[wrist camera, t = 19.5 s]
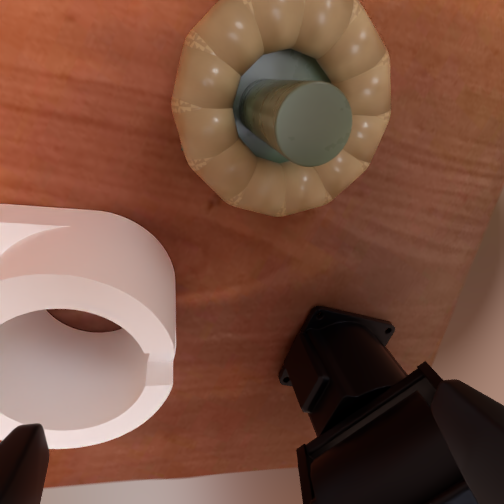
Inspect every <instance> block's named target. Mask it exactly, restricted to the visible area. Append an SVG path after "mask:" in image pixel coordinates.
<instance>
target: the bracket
mask: <svg viewBox="0 0 504 504" xmlns="http://www.w3.org/2000/svg"><path fill="white" fill-rule="evenodd" d="M46 309H72V310H79V311H85V312H89V313H93V314H96V315H99V316H101V317H104V318H106V319H108V320H110V321H113V322H114V323H116V324H118V325H119V326H121V327H122V329H119V330H116V331H111V332H87V331H81V330H77V329H75V328H72V327H69V326H67V325H65V324H63V323H61V322H60V321H58V320H57V319H55V318H54V317H53V316H52V315H51V314H50V313H49V312H48V311H47V310H46ZM175 350H176V283H175V272H174V268H173V265H172V262H171V260H170V257H169V256H168V254H167V252H166V250H165V249H164V247H163V246H162V245H161V243H160V242H159V241H158V240H157V239H156V238H155V237H154V236H153V235H152V234H151V233H150V232H148V231H147V230H146V229H145V228H143V227H142V226H140V225H139V224H137V223H135V222H133V221H131V220H129V219H127V218H125V217H122V216H120V215H116V214H113V213H109V212H105V211H97V210H83V209H69V208H55V207H41V206H27V205H13V204H0V440H3V439H4V438H5V437H6V436H7V435H8V434H9V433H10V432H11V431H12V430H13V429H15V428H16V427H17V426H19V425H25V424H34V423H40V424H41V425H42V426H43V429H44V433H45V437H46V441H47V444H48V448H49V449H66V448H79V447H85V446H91V445H95V444H99V443H103V442H106V441H109V440H112V439H115V438H117V437H120V436H122V435H124V434H126V433H128V432H130V431H132V430H133V429H135V428H137V427H138V426H140V425H141V424H143V423H144V422H145V421H147V420H148V419H149V418H150V417H151V416H153V414H154V413H155V412H156V411H157V410H158V409H159V408H160V407H161V406H162V404H163V403H164V402H165V400H166V398H167V397H168V395H169V393H170V391H171V389H172V386H173V360H174V356H175Z"/></svg>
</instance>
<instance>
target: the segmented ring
mask: <svg viewBox="0 0 504 504" xmlns="http://www.w3.org/2000/svg"><path fill="white" fill-rule="evenodd" d="M286 49H293V50H295V51H298V52H300V53H302V54H305V55H307V56H310V57H312V58H315V59H316V61H317V62H318V64H319V65H320V67H321V68H322V70H323V71H324V72H325V74H326V75H327V77H328V78H329V80H330V81H331V84H332V85H334V86H336V87H337V88H338V89H340V90H341V91H342V92H343V93H344V95H345V96H346V98H347V100H348V102H349V104H350V107H351V111H352V129H351V133H350V136H349V139H348V141H347V143H346V145H345V146H344V148H343V149H342V151H341V152H340V153H339V154H338V155H337V156H336V157H335V158H333V159H332V160H331V161H329V162H327V163H325V164H323V165H320V166H315V167H303V166H299V165H296V164H294V163H292V162H291V161H286V162H282V163H276V162H273V161H270V160H266V159H263V158H260V157H257V156H255V155H254V154H253V152H252V151H251V150H250V149H249V148H248V147H247V146H246V145H245V143H244V142H243V141H242V140H241V139H240V138H239V137H238V132H237V127H236V123H235V118H234V113H233V108H232V107H233V103H234V100H235V96H236V93H237V89H238V86H239V82H240V79H241V76H242V75H243V74H244V73H245V72H246V71H247V70H248V69H249V68H250V67H251V66H252V65H253V64H254V63H255V62H256V61H257V60H258V59H259V58H260V57H261V56H262V55H264V54H269V53H273V52H277V51H282V50H286ZM171 108H172V113H173V116H174V120H175V123H176V127H177V130H178V134H179V137H180V141H181V144H182V147H183V151H184V154H185V158H186V161H187V163H188V164H189V166H190V167H191V169H192V170H193V171H194V172H195V173H196V174H197V175H198V176H199V177H200V178H201V179H202V180H203V181H204V182H205V183H206V184H207V185H208V186H209V187H210V188H211V189H212V190H213V191H214V192H215V193H216V194H217V195H218V196H219V197H220V198H221V199H222V200H223V201H225V202H226V203H227V204H229V205H231V206H234V207H238V208H242V209H246V210H250V211H254V212H258V213H262V214H265V215H269V216H274V217H282V216H286V215H290V214H294V213H298V212H301V211H305V210H309V209H312V208H316V207H320V206H323V205H326V204H328V203H329V202H331V201H332V200H333V199H334V198H335V197H337V196H338V195H339V194H340V193H341V192H342V191H343V190H345V189H346V188H347V187H348V186H349V185H350V184H351V183H352V182H354V181H355V180H356V179H357V178H358V177H359V176H360V175H361V174H363V173H364V172H365V170H366V169H367V168H368V166H369V165H370V163H371V161H372V158H373V156H374V154H375V152H376V149H377V147H378V145H379V142H380V140H381V138H382V136H383V133H384V131H385V129H386V127H387V124H388V122H389V119H390V115H391V81H390V58H389V53H388V51H387V48H386V46H385V45H384V43H383V41H382V39H381V38H380V36H379V34H378V32H377V31H376V29H375V27H374V25H373V24H372V22H371V20H370V18H369V16H368V15H367V13H366V11H365V9H364V8H363V6H362V5H361V3H360V2H359V1H358V0H218V2H217V3H216V4H215V5H214V6H213V7H212V8H211V9H210V10H209V11H208V12H207V13H206V14H205V16H204V17H203V18H202V19H201V20H200V21H199V22H198V23H197V24H196V25H195V26H194V27H193V28H192V30H191V31H190V32H189V33H188V35H187V37H186V39H185V41H184V44H183V48H182V53H181V57H180V62H179V66H178V71H177V75H176V80H175V84H174V89H173V93H172V99H171Z"/></svg>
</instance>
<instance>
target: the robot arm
mask: <svg viewBox="0 0 504 504" xmlns="http://www.w3.org/2000/svg"><path fill="white" fill-rule="evenodd" d="M320 312H321V314H320V315H317V314H318V313H320ZM387 328H388V329H387ZM386 329H387V330H386ZM394 331H395V327H394V326H393V325H392V324H391V323H390V322H388V321H384V320H380V319H375V318H371V317H367V316H362V315H358V314H354V313H349V312H345V311H341V310H337V309H332V308H328V307H324V306H316V307H314V308H313V309H312V310H311V312H310V314H309V316H308V318H307V320H306V322H305V324H304V326H303V328H302V330H301V332H300V333H299V334H298V335H297V337H296V339H295V341H294V343H293V345H292V347H291V349H290V351H289V353H288V355H287V357H286V359H285V361H284V365H283V367H282V369H281V371H280V373H279V376H278V378H279V381H280V383H281V384H282V385H287V386H293V389H294V391H295V394H296V396H297V399H298V402H299V404H300V407H301V409H302V411H303V412H306V413H308V415H309V417H310V420H311V422H312V425H313V427H314V430H315V432H316V435H317V438H315V439H314V440H312V441H311V442H309V443H308V444H307V445H306V444H303V445H302V446H301V447H299V448H298V449H297V458H298V469H299V476H300V483H301V491H302V499H303V504H504V406H503V405H502V404H500V403H498V402H496V401H494V400H493V399H491V398H489V397H488V396H486V395H484V394H482V393H481V392H479V391H477V390H475V389H474V388H472V387H470V386H468V385H467V384H465V383H463V382H461V381H459V380H444V381H443V380H442V379H441V378H440V376H439V375H438V374H437V373H436V372H435V371H434V370H433V369H432V368H431V367H430V366H429V365H428V364H427V362H426V361H425V362H423V363H422V364H420V365H419V366H417V368H418V369H416V370H415V371H413V372H412V373H411V374H409V375H407V374H406V372H405V371H404V370H403V369H402V367H401V366H400V365H399V363H398V362H397V361H396V360H395V358H394V357H393V356H392V354H391V353H390V352H389V351H388V349H387V348H386V347H385V346H386V344H387V343H388V341H389V339H390V338H391V336H392V335H393V333H394ZM285 377H287V378H285ZM48 462H49V448H48V444H47V441H46V437H45V433H44V429H43V426H42V425H41V424H40V423H34V424H25V425H19V426H17V427H16V428H15V429H13V430H12V431H11V432H10V433H9V434H8V435H7V436H6V437H5V438H4V439H3V441H2V442H1V443H0V504H40V501H41V496H42V491H43V487H44V482H45V477H46V472H47V467H48Z"/></svg>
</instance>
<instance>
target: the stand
mask: <svg viewBox="0 0 504 504" xmlns="http://www.w3.org/2000/svg"><path fill="white" fill-rule="evenodd" d="M232 108H233V113H234V118H235V123H236V127H237V132H238V137H239V138H240V139H241V140H242V141H243V142H244V143H245V145H246V146H247V147H248V148H249V149H250V150H251V151H252V152H253V154H254V155H255V156H257V157H260V158H263V159H266V160H270V161H273V162H276V163H282V162H286V161H291V162H292V163H294V164H296V165H299V166H303V167H315V166H320V165H323V164H325V163H327V162H329V161H331V160H332V159H333V158H335V157H336V156H337V155H338V154H339V153H340V152H341V151H342V149H343V148H344V146H345V145H346V143H347V141H348V139H349V136H350V133H351V129H352V111H351V107H350V104H349V102H348V100H347V98H346V96H345V95H344V93H343V92H342V91H341V90H340V89H338V88H337V87H336V86H334V85H332V84H331V81H330V80H329V78H328V77H327V75H326V74H325V72H324V71H323V70H322V68H321V67H320V65H319V64H318V62H317V61H316V59H315V58H312V57H310V56H307V55H305V54H302V53H300V52H298V51H295V50H293V49H286V50H282V51H277V52H273V53H269V54H264V55H262V56H261V57H260V58H259V59H258V60H257V61H256V62H255V63H254V64H253V65H252V66H251V67H250V68H249V69H248V70H247V71H246V72H245V73H244V74H243V75H242V76H241V79H240V82H239V86H238V89H237V93H236V96H235V100H234V103H233V107H232ZM181 150H182V151H183V147H182V144H181Z"/></svg>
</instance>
